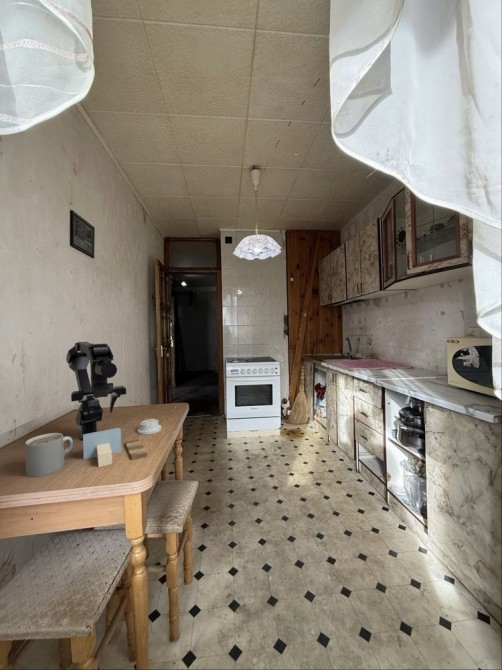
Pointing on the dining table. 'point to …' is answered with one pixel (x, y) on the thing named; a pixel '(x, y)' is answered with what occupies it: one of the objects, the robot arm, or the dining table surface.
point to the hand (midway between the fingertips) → (100, 414)
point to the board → (135, 449)
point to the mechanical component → (149, 427)
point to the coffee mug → (46, 454)
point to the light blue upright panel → (102, 445)
